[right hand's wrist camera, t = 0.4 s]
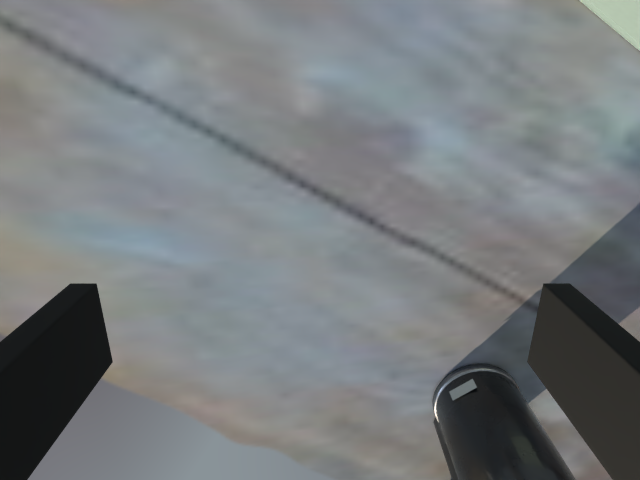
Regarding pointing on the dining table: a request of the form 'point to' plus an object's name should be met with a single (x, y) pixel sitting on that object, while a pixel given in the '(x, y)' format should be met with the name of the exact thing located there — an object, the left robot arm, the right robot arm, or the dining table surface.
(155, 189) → the dining table surface
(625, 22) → the cabinet
